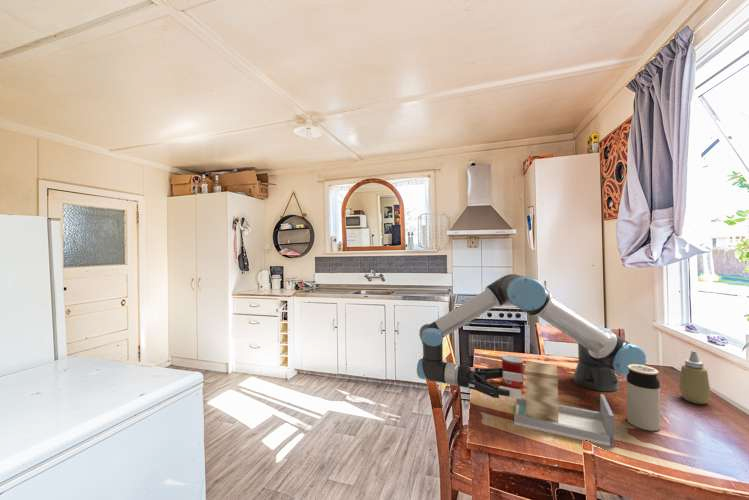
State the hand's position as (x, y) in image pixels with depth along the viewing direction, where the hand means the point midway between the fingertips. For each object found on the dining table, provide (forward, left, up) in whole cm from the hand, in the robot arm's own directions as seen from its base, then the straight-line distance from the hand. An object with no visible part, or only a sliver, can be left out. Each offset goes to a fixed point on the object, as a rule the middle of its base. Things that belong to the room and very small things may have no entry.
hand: (522, 385), depth 104 cm
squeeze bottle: (-65, -17, -11) cm, 68 cm away
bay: (-10, +3, -10) cm, 15 cm away
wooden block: (-6, +2, -9) cm, 11 cm away
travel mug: (-36, +1, -11) cm, 38 cm away
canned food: (-4, -25, -11) cm, 27 cm away
